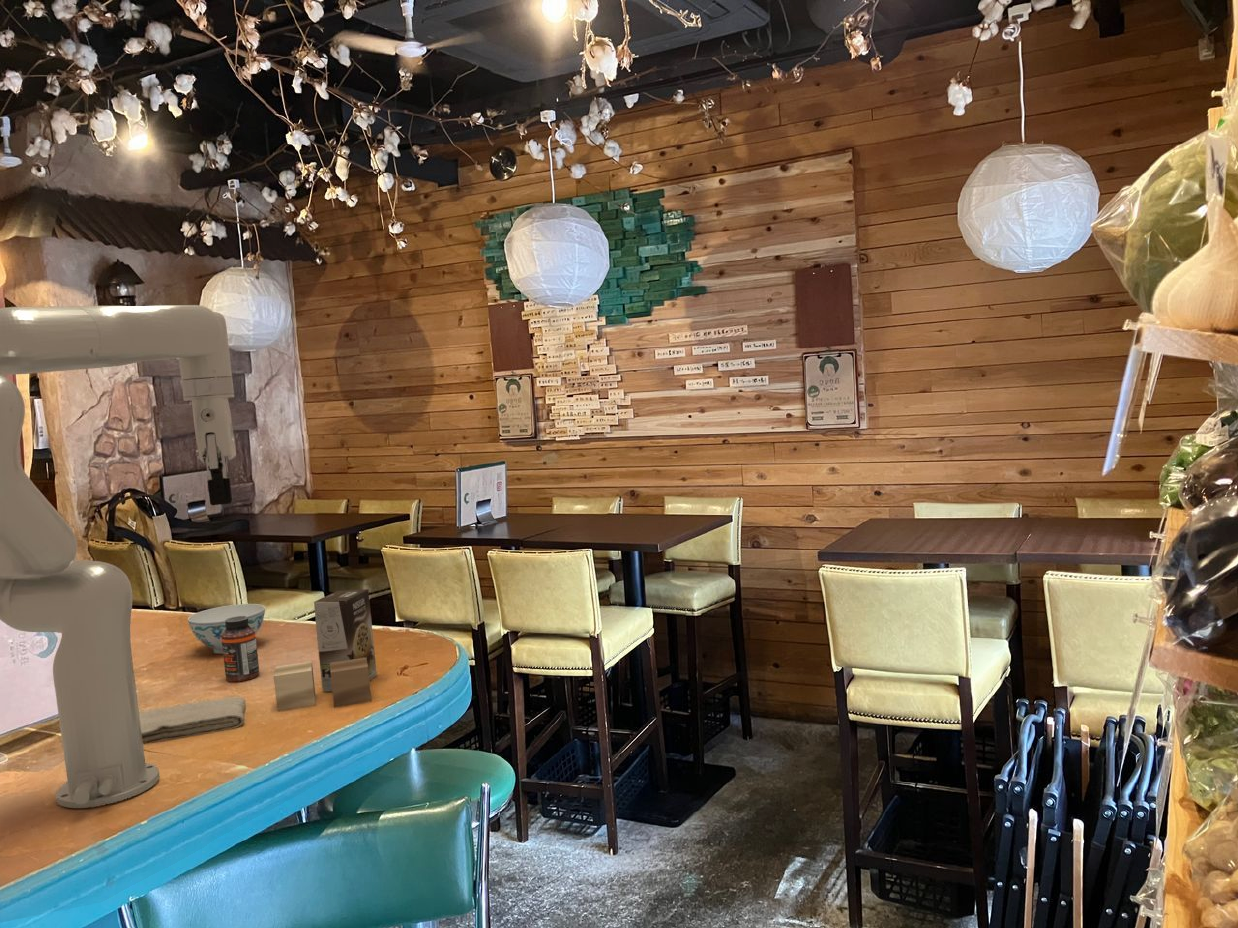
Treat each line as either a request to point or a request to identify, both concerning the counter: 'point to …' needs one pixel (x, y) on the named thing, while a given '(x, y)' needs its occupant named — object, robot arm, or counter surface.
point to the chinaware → (223, 622)
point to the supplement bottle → (239, 650)
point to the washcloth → (191, 719)
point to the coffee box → (344, 631)
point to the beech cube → (294, 685)
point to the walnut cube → (350, 682)
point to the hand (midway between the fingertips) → (221, 503)
